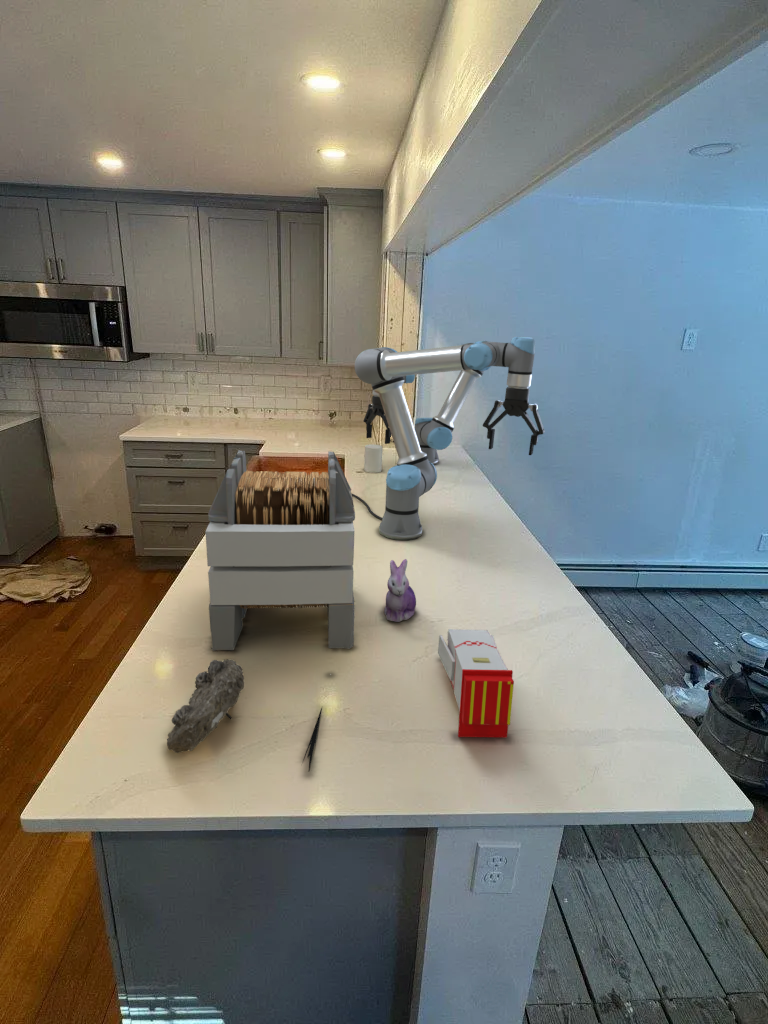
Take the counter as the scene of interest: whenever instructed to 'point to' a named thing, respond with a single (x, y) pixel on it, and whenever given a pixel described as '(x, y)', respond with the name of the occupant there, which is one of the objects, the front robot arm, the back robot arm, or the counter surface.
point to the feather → (313, 740)
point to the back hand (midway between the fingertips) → (378, 440)
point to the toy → (478, 682)
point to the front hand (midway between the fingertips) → (510, 451)
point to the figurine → (399, 594)
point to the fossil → (206, 705)
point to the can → (373, 458)
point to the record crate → (281, 548)
